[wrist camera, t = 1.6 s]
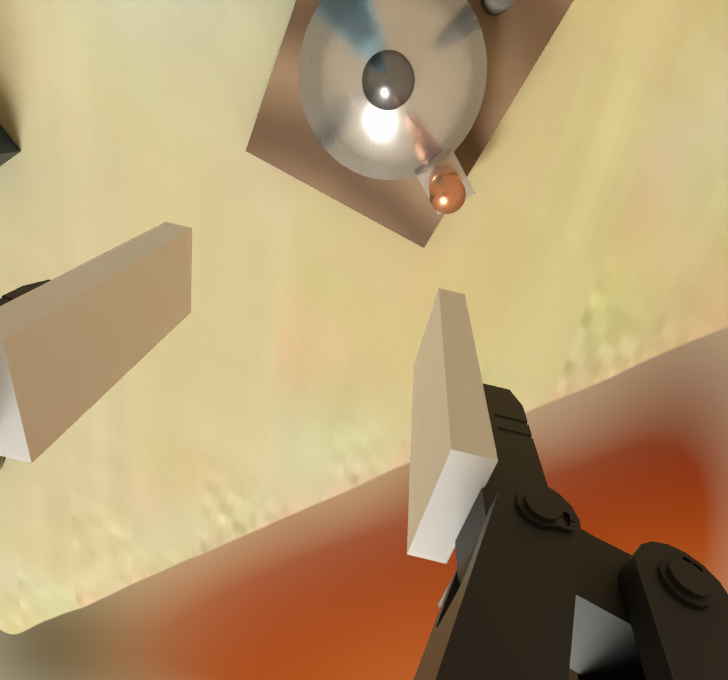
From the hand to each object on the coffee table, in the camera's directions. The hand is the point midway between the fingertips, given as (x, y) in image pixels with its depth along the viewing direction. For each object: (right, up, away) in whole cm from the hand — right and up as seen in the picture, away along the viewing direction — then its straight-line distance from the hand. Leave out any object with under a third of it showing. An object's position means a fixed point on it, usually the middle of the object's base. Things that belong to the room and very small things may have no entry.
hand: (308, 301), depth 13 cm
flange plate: (+4, +12, +12) cm, 18 cm away
